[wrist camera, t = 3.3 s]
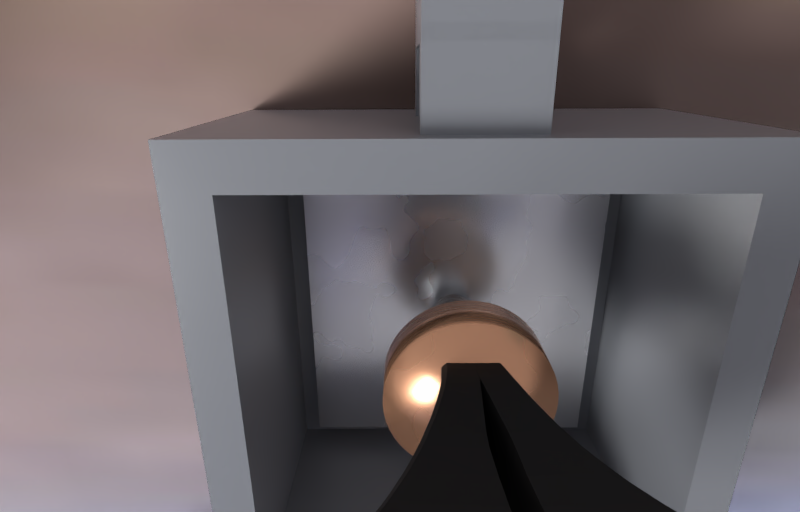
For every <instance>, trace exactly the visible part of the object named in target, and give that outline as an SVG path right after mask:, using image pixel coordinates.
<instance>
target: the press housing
mask: <svg viewBox="0 0 800 512" xmlns="http://www.w3.org/2000/svg"><path fill="white" fill-rule="evenodd" d="M563 3H564V0H416V34H415V109H369V110H250V111H246V112H243V113H239V114H236V115H232V116H229V117H225V118H222V119H218V120H215V121H211V122H208V123H204V124H201V125H197V126H194V127H190V128H187V129H184V130H180V131H177V132H173V133H170V134H166V135H163V136H159V137H156V138H152V139H149V140H148V143H149V149H150V155H151V160H152V166H153V172H154V178H155V183H156V189H157V195H158V201H159V206H160V212H161V218H162V224H163V229H164V235H165V241H166V247H167V252H168V258H169V264H170V270H171V275H172V281H173V287H174V293H175V299H176V304H177V310H178V316H179V322H180V327H181V333H182V339H183V345H184V350H185V356H186V362H187V368H188V373H189V379H190V385H191V391H192V396H193V402H194V408H195V414H196V419H197V425H198V431H199V437H200V442H201V448H202V454H203V460H204V466H205V471H206V477H207V483H208V489H209V494H210V500H211V506H212V512H376V511H377V510H378V508H379V507H380V506H381V505H382V503H383V502H384V501H385V499H386V498H387V496H388V495H389V494H390V492H391V491H392V489H393V488H394V486H395V485H396V483H397V482H398V480H399V479H400V477H401V475H402V474H403V472H404V471H405V469H406V467H407V466H408V464H409V462H410V460H411V459H412V457H413V456H412V455H411V454H410V453H408V452H407V451H406V450H405V449H404V448H403V447H402V446H401V445H400V444H399V443H398V442H397V441H396V439H395V438H394V436H393V435H392V433H391V432H390V430H389V428H388V427H320V422H319V408H318V394H317V380H316V366H315V352H314V338H313V325H312V311H311V297H310V283H309V269H308V255H307V241H306V228H305V214H304V200H303V195H482V194H610V200H609V207H608V214H607V221H606V228H605V235H604V242H603V249H602V256H601V263H600V270H599V277H598V284H597V291H596V298H595V306H594V313H593V320H592V327H591V334H590V341H589V348H588V355H587V362H586V369H585V376H584V383H583V390H582V397H581V404H580V411H579V418H578V425H577V427H561V428H562V429H563V430H564V431H566V432H567V433H568V434H569V435H570V436H571V437H572V438H573V439H575V440H576V441H577V442H578V443H579V444H580V445H581V446H583V447H584V448H585V449H586V450H588V451H589V452H590V453H591V454H592V455H594V456H595V457H596V458H598V459H599V460H600V461H602V462H603V463H604V464H606V465H607V466H608V467H610V468H611V469H612V470H614V471H615V472H616V473H618V474H619V475H620V476H622V477H623V478H625V479H626V480H628V481H629V482H630V483H632V484H633V485H635V486H636V487H638V488H640V489H641V490H643V491H644V492H646V493H647V494H649V495H650V496H652V497H654V498H655V499H657V500H658V501H660V502H661V503H663V504H665V505H666V506H668V507H670V508H671V509H673V510H675V511H676V512H728V509H729V506H730V502H731V499H732V495H733V492H734V488H735V485H736V481H737V478H738V474H739V471H740V467H741V464H742V460H743V457H744V453H745V450H746V446H747V443H748V439H749V436H750V432H751V429H752V426H753V422H754V419H755V415H756V412H757V408H758V405H759V401H760V398H761V394H762V391H763V387H764V384H765V380H766V377H767V373H768V370H769V366H770V363H771V359H772V356H773V352H774V349H775V345H776V342H777V338H778V335H779V332H780V328H781V325H782V321H783V318H784V314H785V311H786V307H787V304H788V300H789V297H790V293H791V290H792V286H793V283H794V279H795V276H796V272H797V269H798V265H799V262H800V131H795V130H789V129H783V128H776V127H770V126H764V125H758V124H752V123H746V122H740V121H734V120H728V119H722V118H716V117H710V116H704V115H697V114H691V113H685V112H679V111H673V110H667V109H661V108H609V109H553V107H554V96H555V86H556V76H557V65H558V55H559V45H560V34H561V24H562V14H563Z"/></svg>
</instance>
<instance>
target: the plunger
mask: <svg viewBox="0 0 800 512" xmlns="http://www.w3.org/2000/svg"><path fill="white" fill-rule="evenodd" d="M303 200H304V214H305V228H306V241H307V255H308V269H309V283H310V297H311V311H312V325H313V338H314V352H315V366H316V380H317V394H318V408H319V422H320V427H388V428H389V430H390V432H391V433H392V435H393V436H394V438H395V439H396V441H397V442H398V443H399V444H400V445H401V446H402V447H403V448H404V449H405V450H406V451H407V452H408V453H410V454H411V455H412V456H413V455H414V453H415V451H416V449H417V447H418V445H419V443H420V441H421V439H422V437H423V434H424V432H425V430H426V427H427V425H428V423H429V421H430V418H431V415H432V413H433V409H434V406H435V403H436V400H437V397H438V393H439V389H440V385H441V367H442V366H443V365H444V364H446V363H501V364H502V365H503V366H504V367H505V368H506V370H507V371H508V372H509V373H510V374H511V375H512V376H513V378H514V379H515V380H516V381H517V382H518V383H519V384H520V385H521V387H522V388H523V389H524V390H525V391H526V392H527V393H528V394H529V395H530V397H531V398H532V399H533V400H534V401H535V402H536V403H537V404H538V405H539V406H540V407H541V408H542V409H543V410H544V411H545V412H546V413H547V414H548V415H549V416H550V417H551V418H552V419H553V420H554V421H555V422H556V423H557V424H558V425H559V426H560V427H577V425H578V418H579V411H580V404H581V397H582V390H583V383H584V376H585V369H586V362H587V355H588V348H589V341H590V334H591V327H592V320H593V313H594V306H595V298H596V291H597V284H598V277H599V270H600V263H601V256H602V249H603V242H604V235H605V228H606V221H607V214H608V207H609V200H610V194H482V195H303Z"/></svg>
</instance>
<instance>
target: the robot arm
mask: <svg viewBox="0 0 800 512" xmlns="http://www.w3.org/2000/svg"><path fill="white" fill-rule="evenodd" d="M376 512H676V511H675V510H673V509H671V508H670V507H668V506H666V505H665V504H663V503H661V502H660V501H658V500H657V499H655V498H654V497H652V496H650V495H649V494H647V493H646V492H644V491H643V490H641V489H640V488H638V487H636V486H635V485H633V484H632V483H630V482H629V481H628V480H626V479H625V478H623V477H622V476H620V475H619V474H618V473H616V472H615V471H614V470H612V469H611V468H610V467H608V466H607V465H606V464H604V463H603V462H602V461H600V460H599V459H598V458H596V457H595V456H594V455H592V454H591V453H590V452H589V451H588V450H586V449H585V448H584V447H583V446H581V445H580V444H579V443H578V442H577V441H576V440H575V439H573V438H572V437H571V436H570V435H569V434H568V433H567V432H566V431H564V430H563V429H562V428H561V427H560V426H559V425H558V424H557V423H556V422H555V421H554V420H553V419H552V418H551V417H550V416H549V415H548V414H547V413H546V412H545V411H544V410H543V409H542V408H541V407H540V406H539V405H538V404H537V403H536V402H535V401H534V400H533V399H532V398H531V397H530V395H529V394H528V393H527V392H526V391H525V390H524V389H523V388H522V387H521V385H520V384H519V383H518V382H517V381H516V380H515V379H514V378H513V376H512V375H511V374H510V373H509V372H508V371H507V370H506V368H505V367H504V366H503V365H502V364H501V363H446V364H444V365H443V366H442V367H441V385H440V389H439V393H438V397H437V400H436V403H435V406H434V409H433V413H432V415H431V418H430V421H429V423H428V425H427V427H426V430H425V432H424V434H423V437H422V439H421V441H420V443H419V445H418V447H417V449H416V451H415V453H414V455H413V457H412V459H411V460H410V462H409V464H408V466H407V467H406V469H405V471H404V472H403V474H402V475H401V477H400V479H399V480H398V482H397V483H396V485H395V486H394V488H393V489H392V491H391V492H390V494H389V495H388V496H387V498H386V499H385V501H384V502H383V503H382V505H381V506H380V507H379V508H378V510H377V511H376Z"/></svg>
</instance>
